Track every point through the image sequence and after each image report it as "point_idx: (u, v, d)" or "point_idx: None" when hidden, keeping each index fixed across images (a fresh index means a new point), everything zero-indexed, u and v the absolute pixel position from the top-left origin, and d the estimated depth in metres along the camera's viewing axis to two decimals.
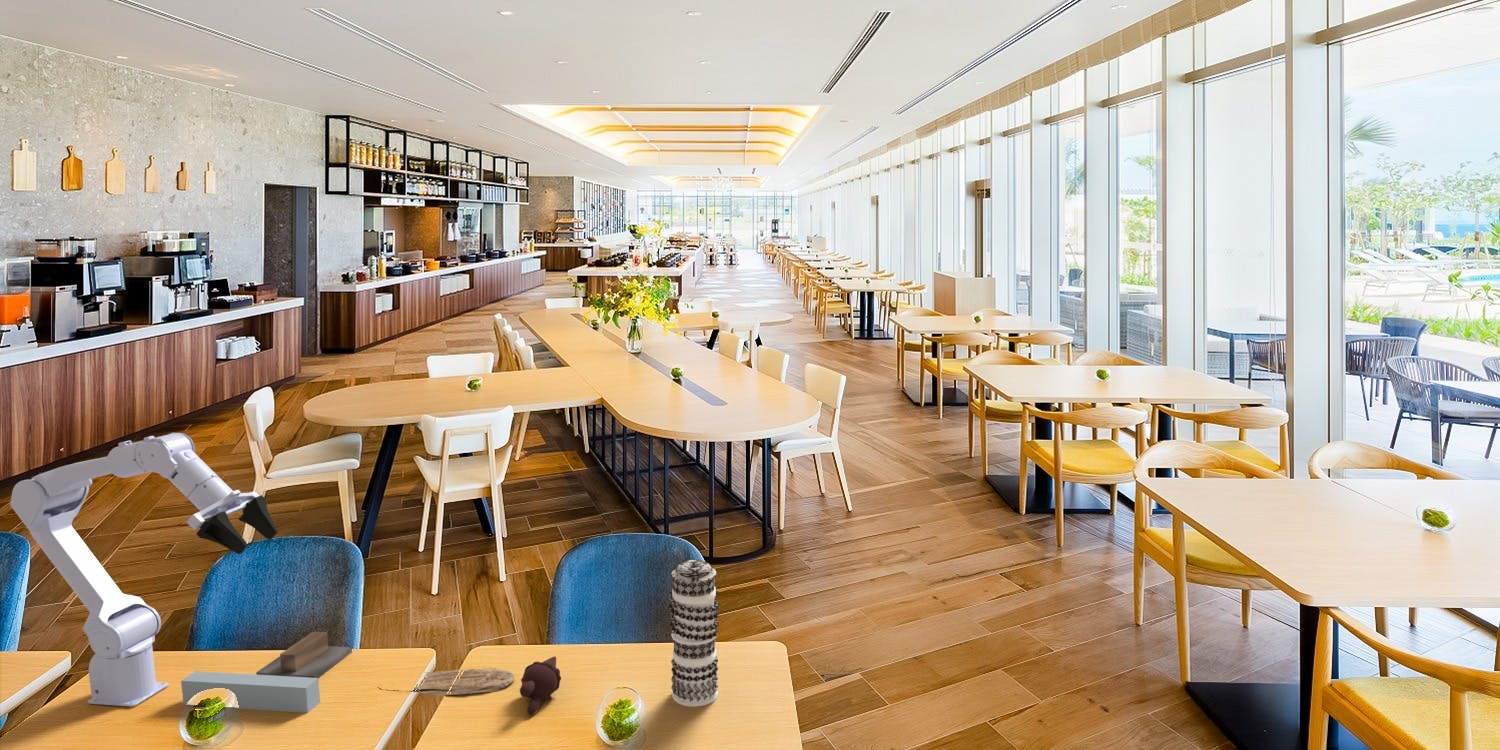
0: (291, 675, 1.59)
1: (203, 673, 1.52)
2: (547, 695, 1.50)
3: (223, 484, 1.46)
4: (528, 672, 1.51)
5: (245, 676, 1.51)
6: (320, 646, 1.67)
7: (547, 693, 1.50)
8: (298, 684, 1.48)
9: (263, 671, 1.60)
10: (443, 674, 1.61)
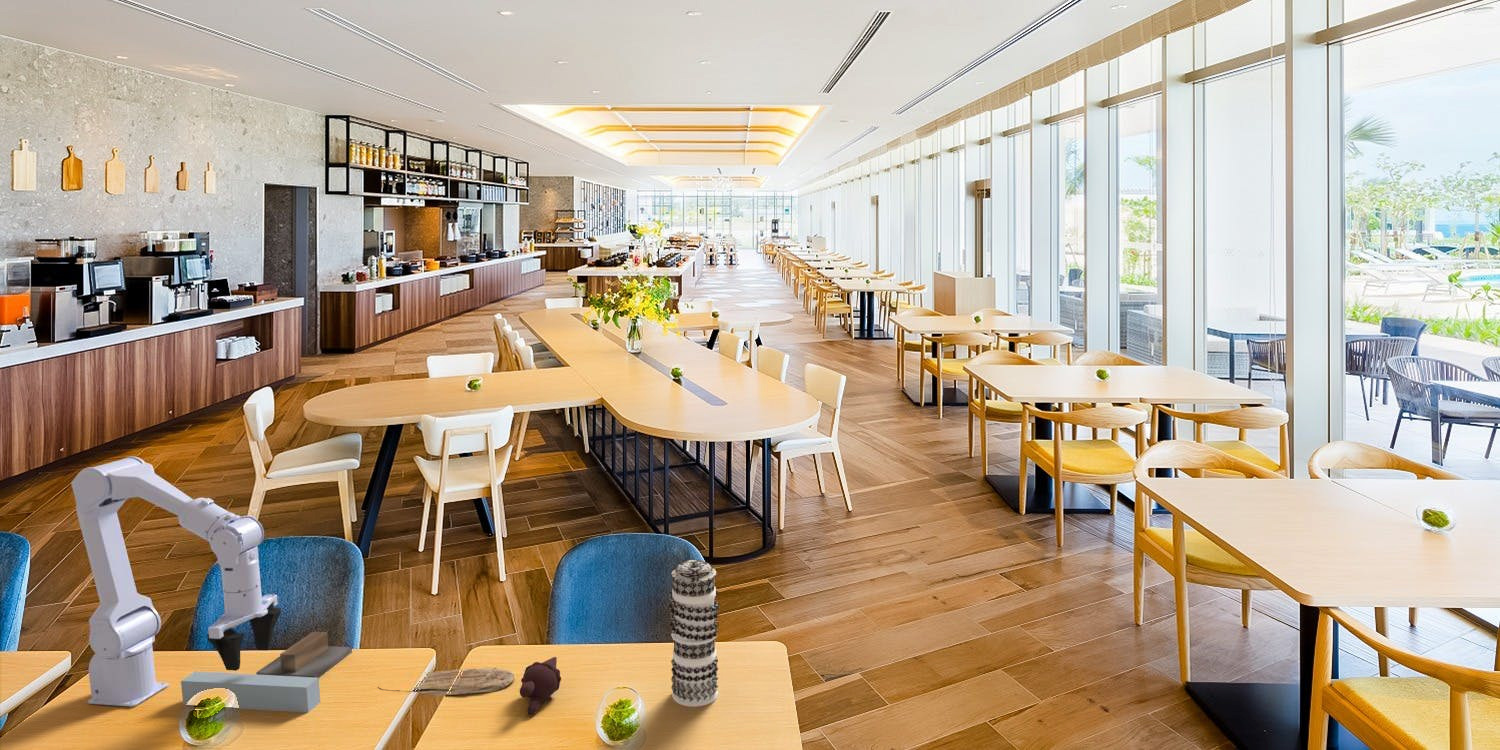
0: (291, 675, 1.59)
1: (203, 673, 1.52)
2: (547, 696, 1.50)
3: (259, 596, 1.48)
4: (528, 672, 1.50)
5: (245, 676, 1.51)
6: (320, 646, 1.67)
7: (547, 694, 1.50)
8: (299, 683, 1.48)
9: (263, 671, 1.60)
10: (443, 674, 1.61)
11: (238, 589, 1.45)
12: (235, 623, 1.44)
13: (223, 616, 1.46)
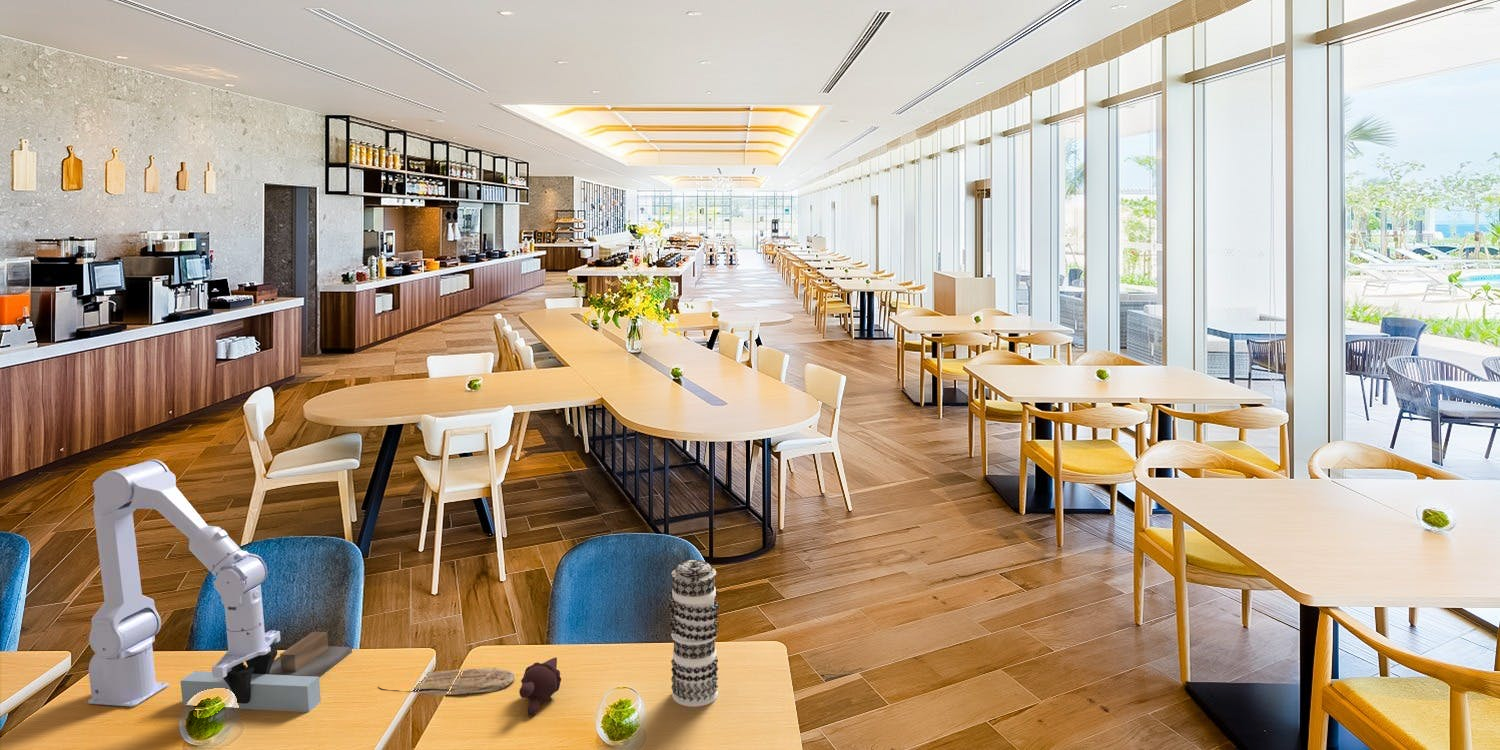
0: (291, 675, 1.59)
1: (202, 673, 1.52)
2: (547, 696, 1.50)
3: (262, 634, 1.49)
4: (528, 673, 1.50)
5: None
6: (320, 646, 1.67)
7: (547, 694, 1.49)
8: (299, 682, 1.49)
9: None
10: (443, 674, 1.61)
11: (241, 628, 1.46)
12: (238, 662, 1.45)
13: (226, 654, 1.47)
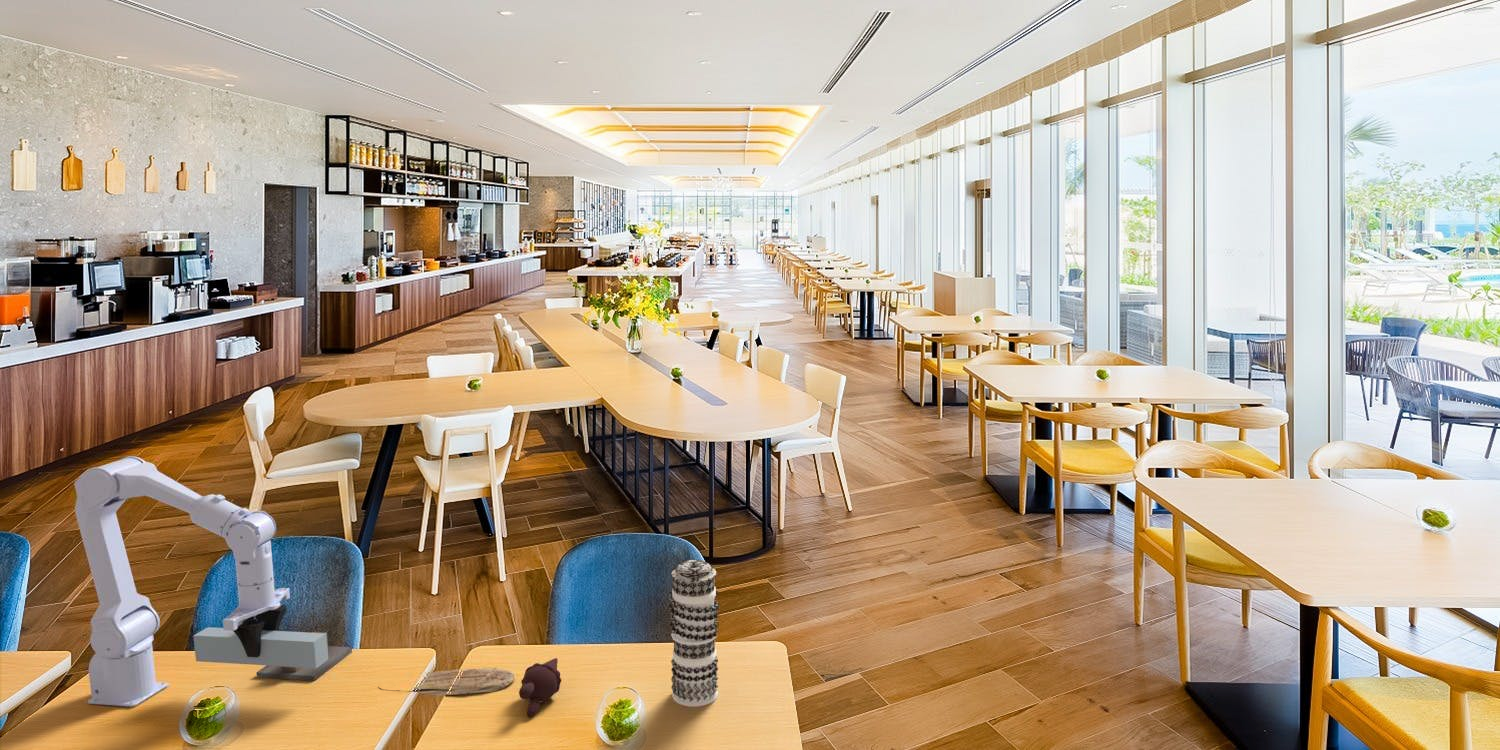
0: (291, 675, 1.59)
1: (215, 629, 1.55)
2: (547, 697, 1.50)
3: (272, 590, 1.51)
4: (528, 674, 1.50)
5: None
6: None
7: (547, 695, 1.49)
8: (307, 638, 1.50)
9: (263, 671, 1.60)
10: (443, 674, 1.61)
11: (254, 582, 1.49)
12: (249, 615, 1.47)
13: (237, 609, 1.49)
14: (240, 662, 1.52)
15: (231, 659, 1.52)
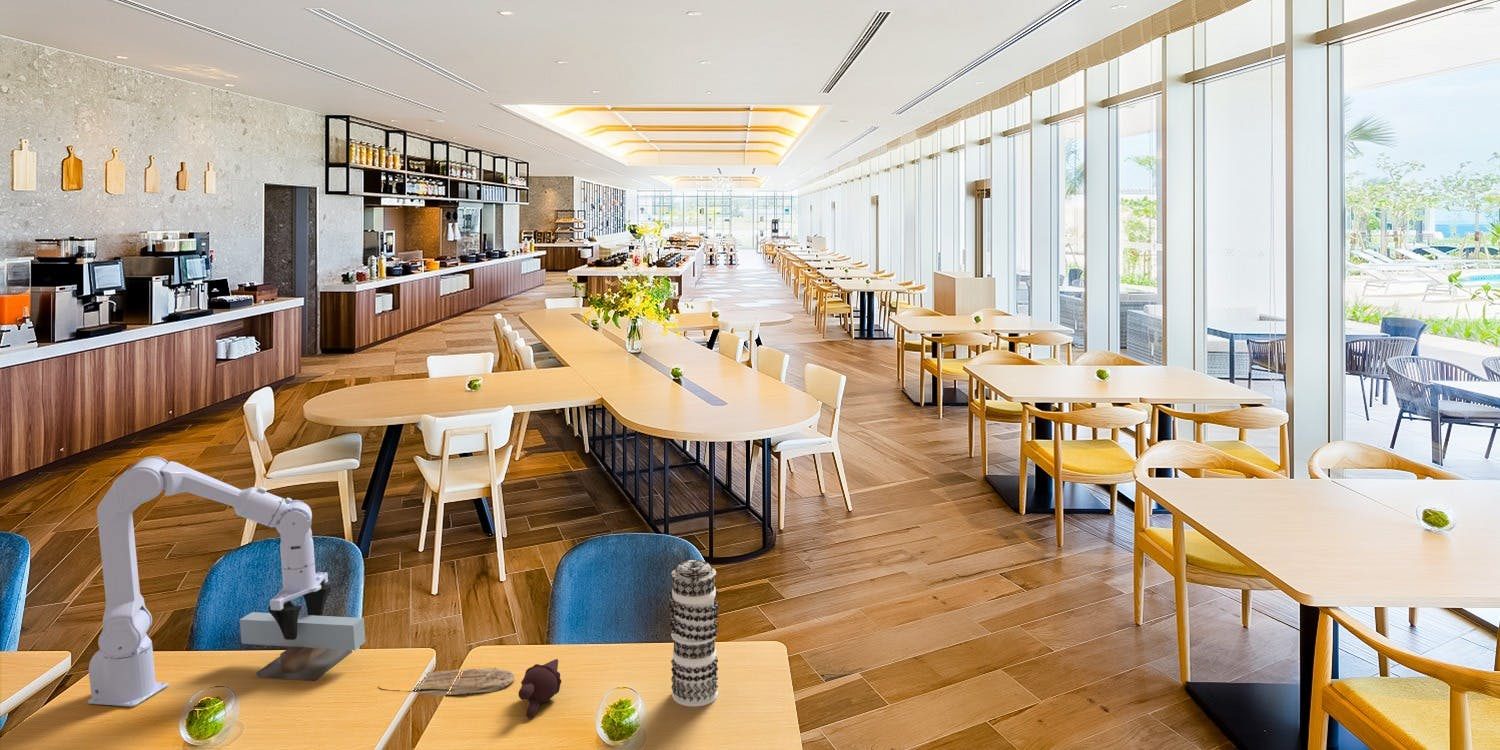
0: (291, 675, 1.59)
1: (259, 614, 1.66)
2: (547, 698, 1.49)
3: (313, 573, 1.63)
4: (528, 675, 1.50)
5: None
6: None
7: (547, 696, 1.49)
8: (346, 622, 1.62)
9: (263, 671, 1.60)
10: (443, 674, 1.61)
11: (304, 564, 1.61)
12: (293, 597, 1.59)
13: (281, 590, 1.61)
14: (283, 644, 1.63)
15: (275, 641, 1.64)
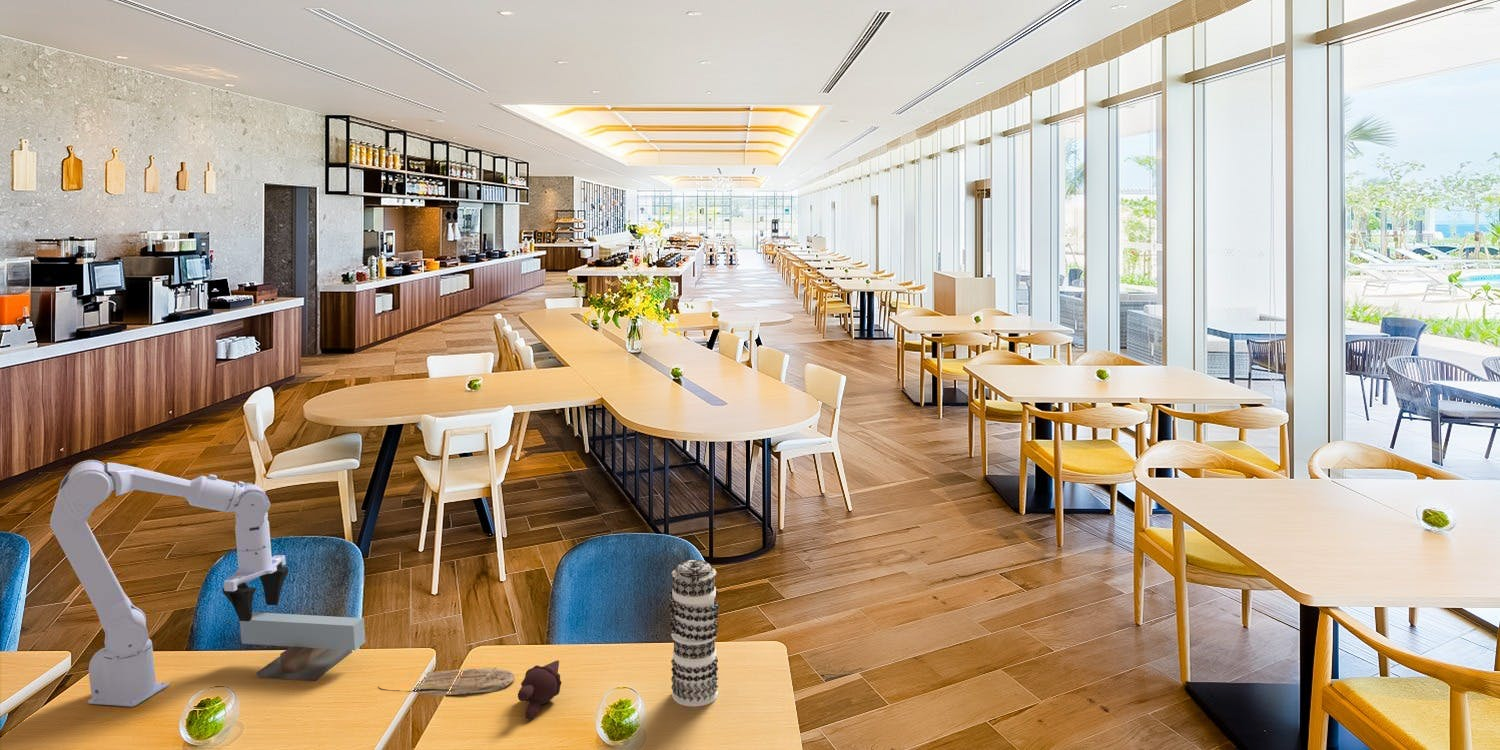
0: (291, 675, 1.59)
1: (259, 613, 1.66)
2: (546, 700, 1.49)
3: (269, 555, 1.64)
4: (528, 676, 1.49)
5: (297, 616, 1.65)
6: None
7: (546, 698, 1.48)
8: (346, 622, 1.62)
9: (263, 671, 1.60)
10: (443, 674, 1.61)
11: (263, 545, 1.62)
12: (248, 578, 1.60)
13: (237, 572, 1.62)
14: (283, 644, 1.63)
15: (275, 641, 1.64)
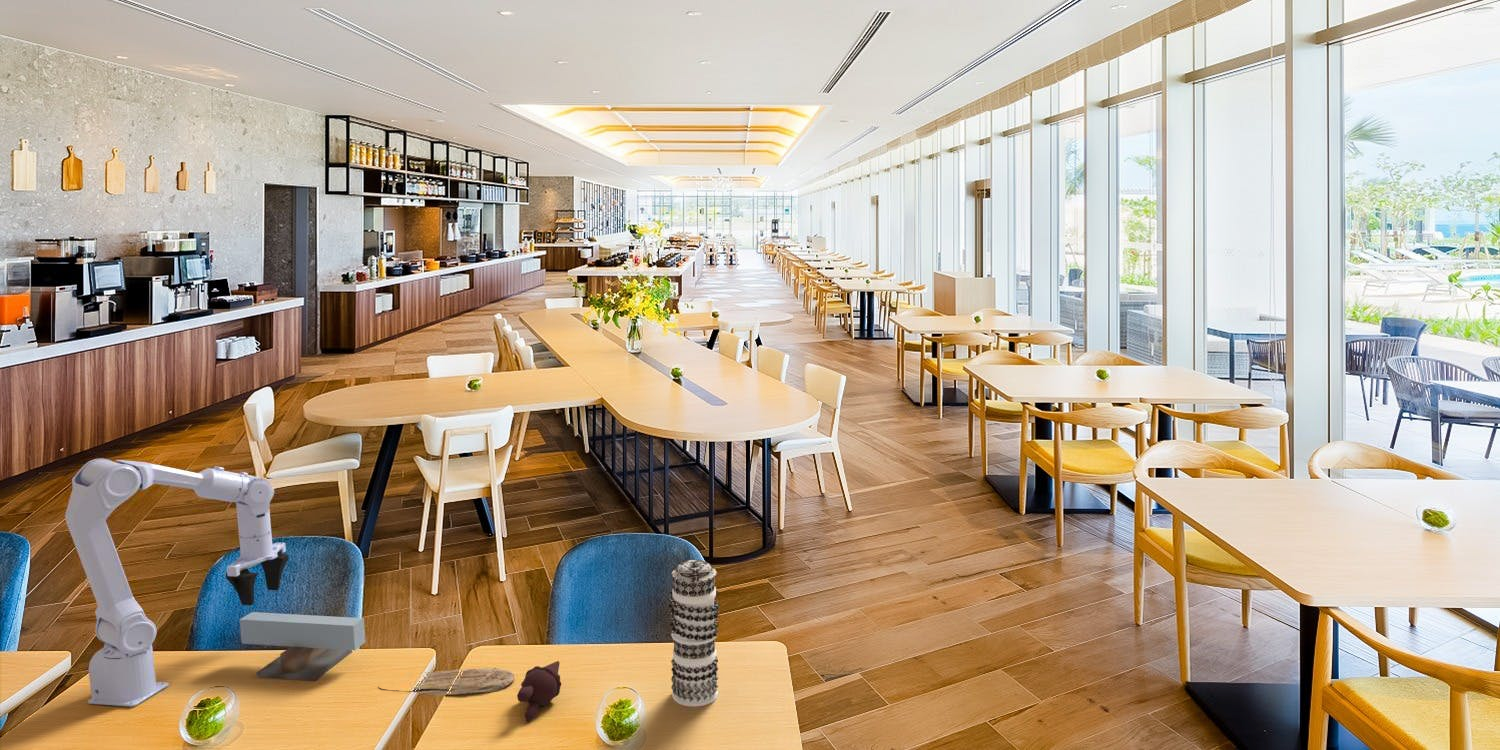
0: (291, 675, 1.59)
1: (259, 613, 1.66)
2: (546, 701, 1.48)
3: (270, 542, 1.71)
4: (528, 677, 1.49)
5: (297, 616, 1.65)
6: None
7: (546, 699, 1.48)
8: (346, 622, 1.62)
9: (263, 671, 1.60)
10: (443, 674, 1.61)
11: (268, 531, 1.70)
12: (249, 564, 1.67)
13: (239, 558, 1.69)
14: (283, 644, 1.63)
15: (275, 641, 1.64)
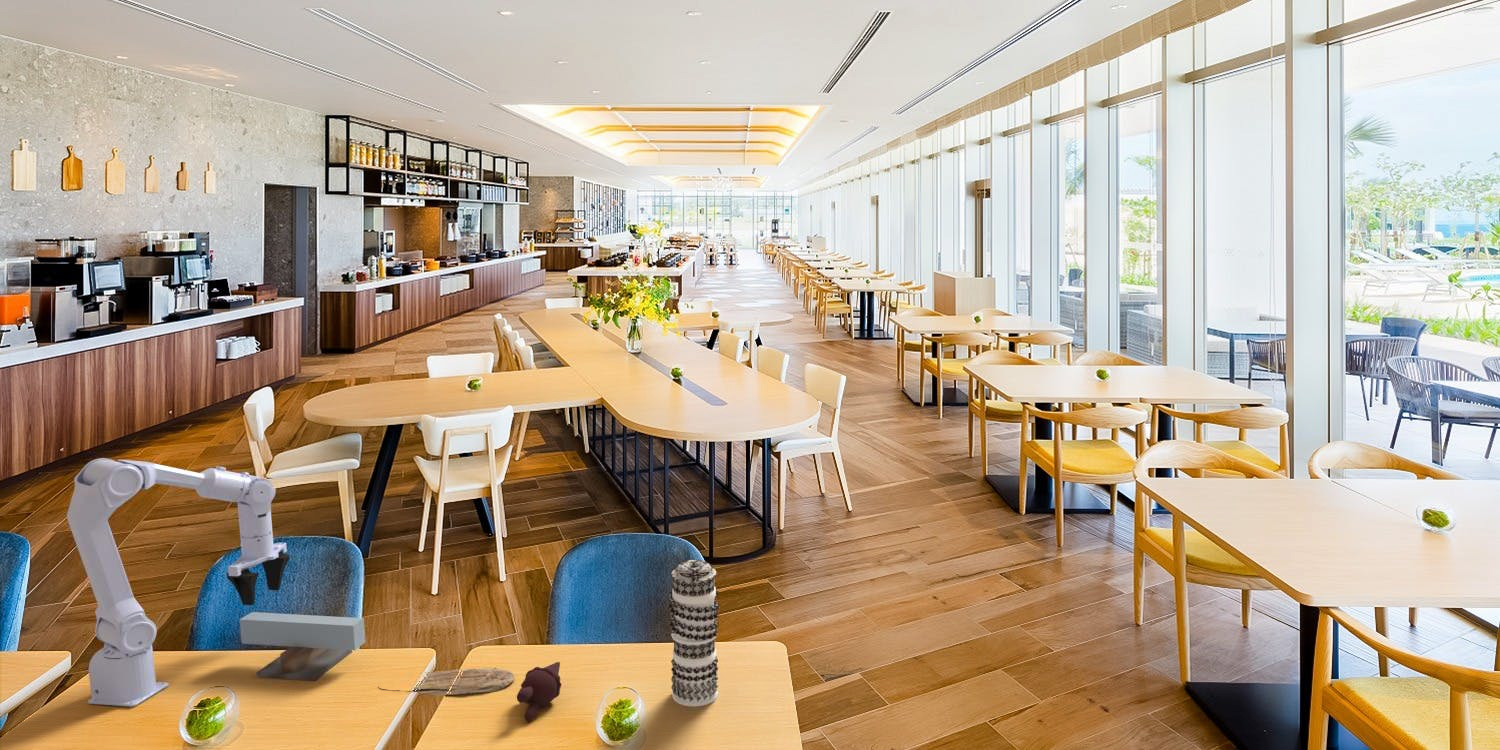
0: (291, 675, 1.59)
1: (259, 613, 1.66)
2: (546, 702, 1.48)
3: (271, 542, 1.71)
4: (528, 677, 1.49)
5: (297, 616, 1.65)
6: None
7: (546, 700, 1.48)
8: (346, 622, 1.62)
9: (263, 671, 1.60)
10: (443, 674, 1.61)
11: (269, 531, 1.71)
12: (251, 564, 1.67)
13: (240, 558, 1.69)
14: (283, 644, 1.63)
15: (275, 641, 1.64)
